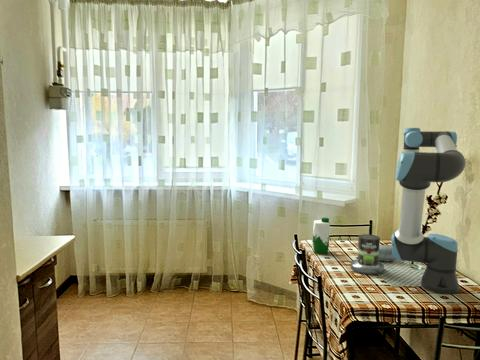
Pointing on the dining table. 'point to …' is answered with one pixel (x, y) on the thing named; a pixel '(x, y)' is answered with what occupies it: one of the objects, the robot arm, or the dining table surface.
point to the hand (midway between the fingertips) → (408, 198)
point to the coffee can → (368, 250)
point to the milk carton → (321, 236)
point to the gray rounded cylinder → (385, 253)
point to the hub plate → (367, 268)
